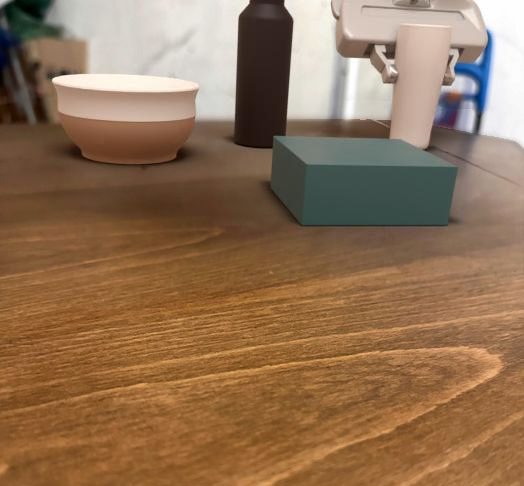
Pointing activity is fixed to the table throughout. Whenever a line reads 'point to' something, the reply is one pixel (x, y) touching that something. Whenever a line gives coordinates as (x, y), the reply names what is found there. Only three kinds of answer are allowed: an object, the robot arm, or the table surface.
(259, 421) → the table surface
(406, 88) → the drinking glass
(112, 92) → the bowl
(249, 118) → the bottle
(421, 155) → the stand
